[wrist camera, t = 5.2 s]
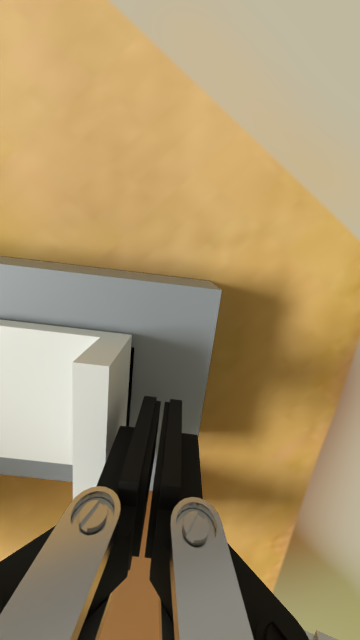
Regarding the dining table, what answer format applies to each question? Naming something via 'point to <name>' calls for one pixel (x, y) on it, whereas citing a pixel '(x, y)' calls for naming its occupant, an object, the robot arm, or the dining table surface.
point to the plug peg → (134, 600)
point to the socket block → (121, 317)
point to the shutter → (62, 395)
